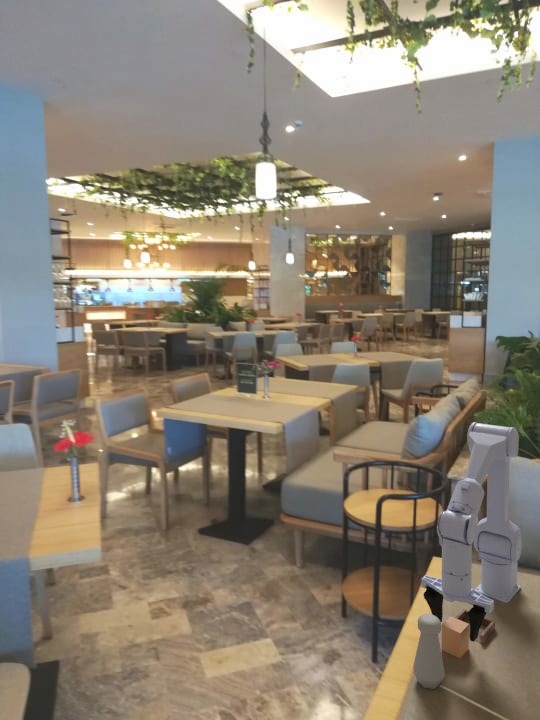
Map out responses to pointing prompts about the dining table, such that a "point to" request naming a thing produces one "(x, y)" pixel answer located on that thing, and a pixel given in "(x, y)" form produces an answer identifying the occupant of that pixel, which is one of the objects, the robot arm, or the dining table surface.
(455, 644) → the block
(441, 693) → the dining table surface
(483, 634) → the box
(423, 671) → the salt shaker
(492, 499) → the robot arm
